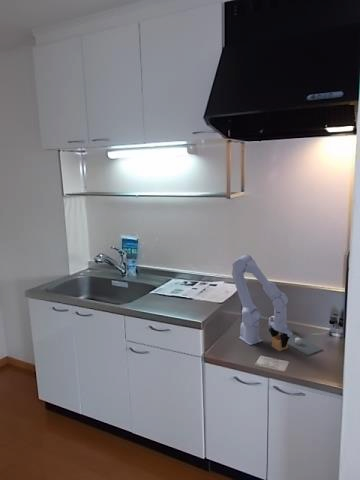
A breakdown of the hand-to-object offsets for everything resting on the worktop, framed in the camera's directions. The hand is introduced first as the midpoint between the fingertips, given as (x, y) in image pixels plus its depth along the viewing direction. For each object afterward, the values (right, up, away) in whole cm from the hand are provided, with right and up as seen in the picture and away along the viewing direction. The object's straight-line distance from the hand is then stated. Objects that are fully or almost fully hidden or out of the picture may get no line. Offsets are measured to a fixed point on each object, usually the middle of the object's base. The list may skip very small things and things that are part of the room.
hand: (279, 344), depth 184 cm
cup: (+4, +3, +19) cm, 19 cm away
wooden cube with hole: (0, -1, 0) cm, 1 cm away
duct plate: (+10, -1, +2) cm, 11 cm away
